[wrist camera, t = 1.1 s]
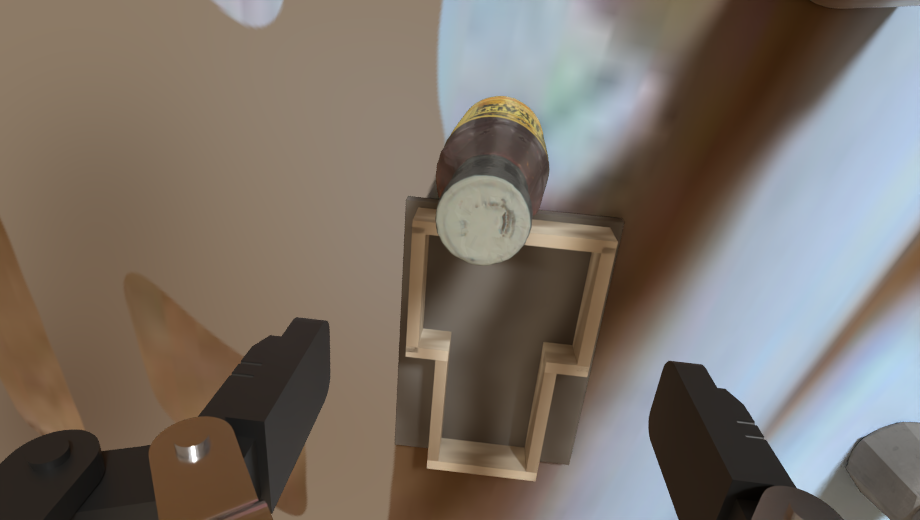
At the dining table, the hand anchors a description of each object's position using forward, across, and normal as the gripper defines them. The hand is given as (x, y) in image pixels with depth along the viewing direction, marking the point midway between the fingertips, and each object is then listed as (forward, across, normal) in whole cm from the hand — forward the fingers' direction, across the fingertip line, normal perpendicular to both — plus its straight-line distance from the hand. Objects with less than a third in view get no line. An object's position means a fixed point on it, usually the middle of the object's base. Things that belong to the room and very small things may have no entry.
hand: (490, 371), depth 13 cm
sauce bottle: (+30, 0, 0) cm, 30 cm away
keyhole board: (+30, -2, +18) cm, 35 cm away
